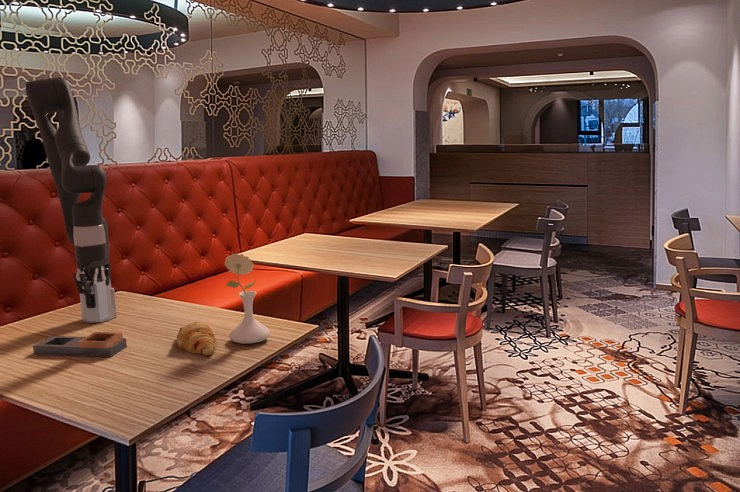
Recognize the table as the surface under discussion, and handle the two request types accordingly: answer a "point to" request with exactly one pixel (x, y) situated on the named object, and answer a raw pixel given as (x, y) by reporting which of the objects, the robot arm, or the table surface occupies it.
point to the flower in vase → (245, 303)
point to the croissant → (197, 339)
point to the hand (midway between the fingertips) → (96, 305)
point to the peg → (98, 303)
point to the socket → (82, 345)
